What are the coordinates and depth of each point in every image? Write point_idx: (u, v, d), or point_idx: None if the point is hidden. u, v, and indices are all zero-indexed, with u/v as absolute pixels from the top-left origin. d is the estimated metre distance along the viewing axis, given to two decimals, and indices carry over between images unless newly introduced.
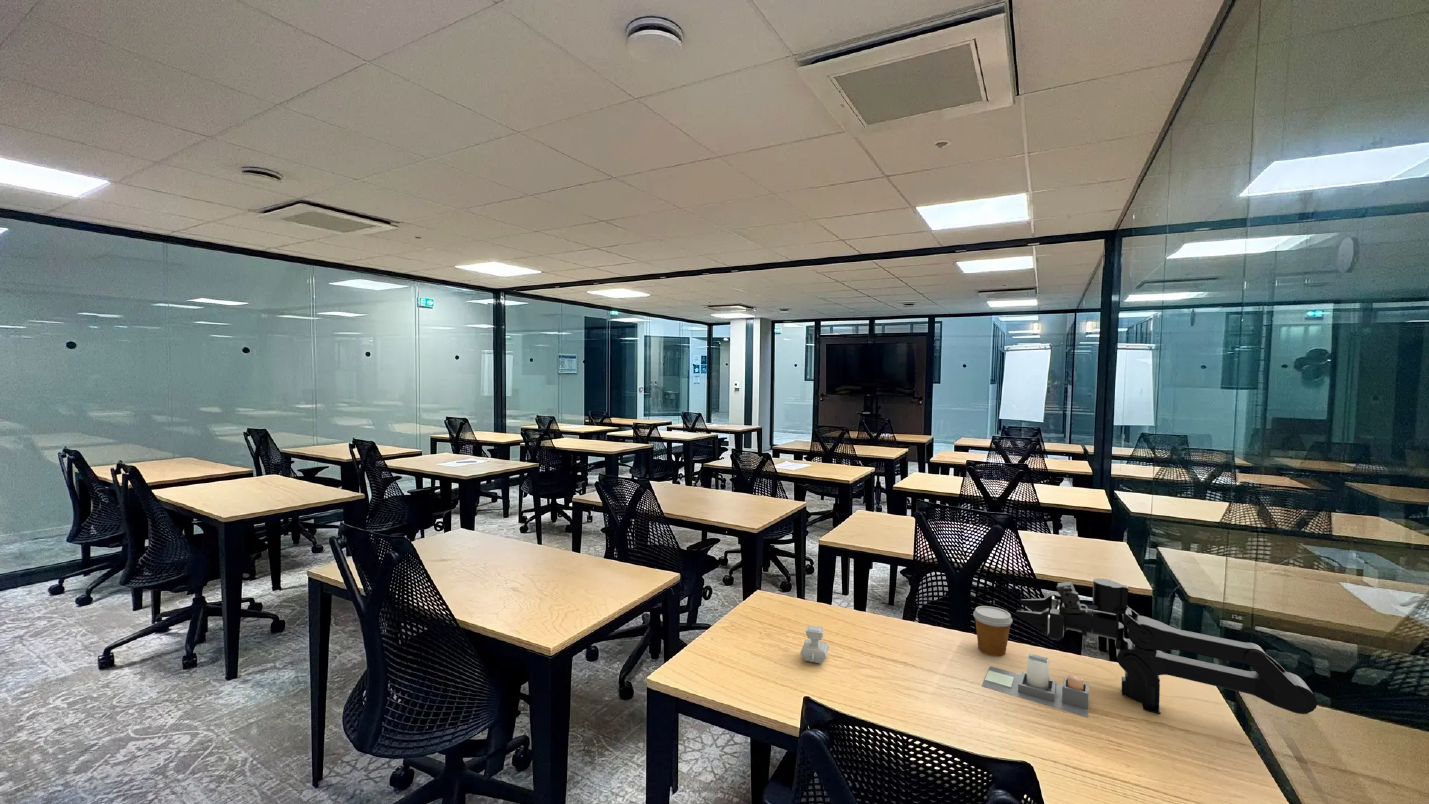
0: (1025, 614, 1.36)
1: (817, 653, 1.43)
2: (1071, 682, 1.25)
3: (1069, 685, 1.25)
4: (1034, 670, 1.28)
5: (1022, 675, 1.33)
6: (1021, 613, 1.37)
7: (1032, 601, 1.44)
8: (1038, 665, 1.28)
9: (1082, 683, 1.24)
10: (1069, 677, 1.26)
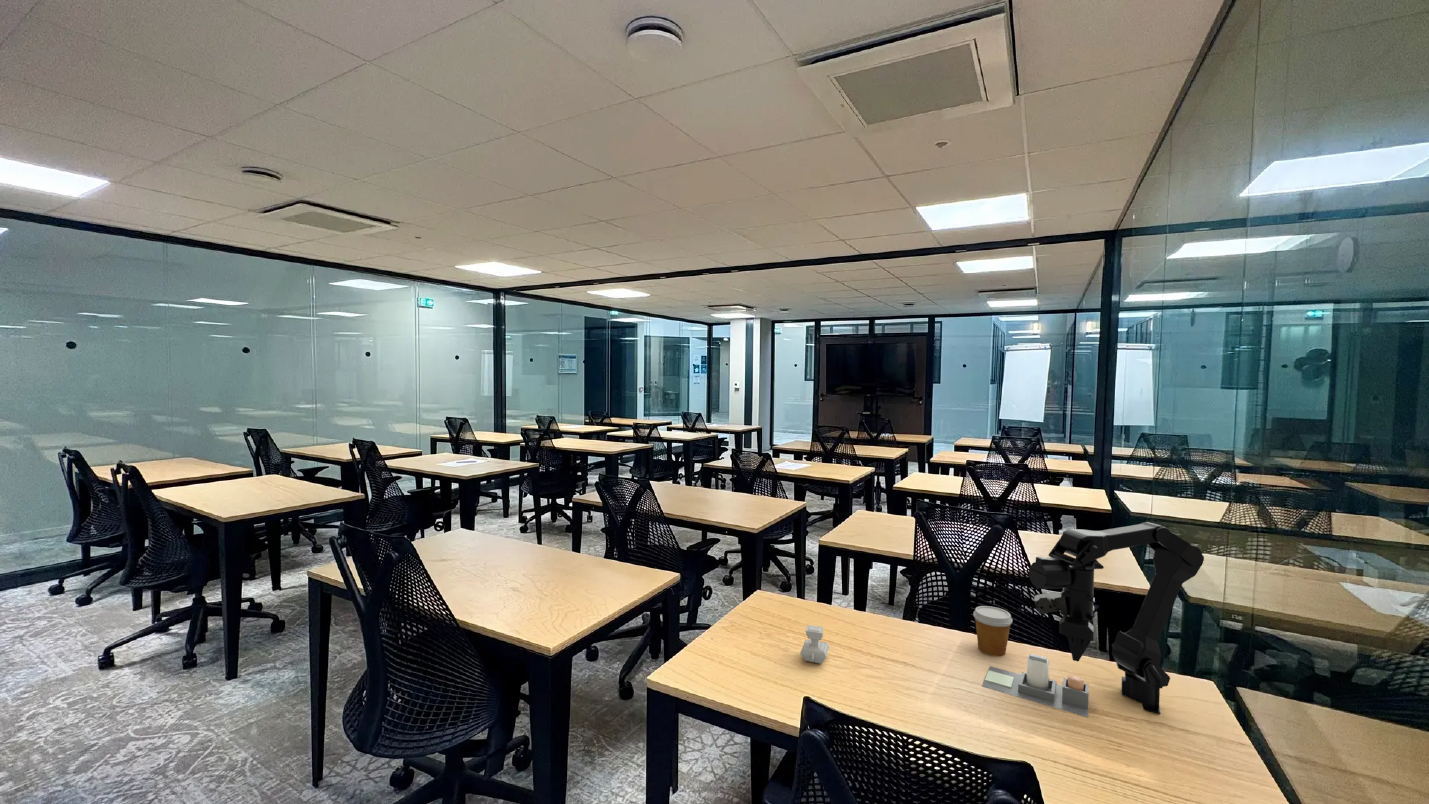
0: (1074, 652, 1.22)
1: (817, 653, 1.43)
2: (1071, 682, 1.25)
3: (1069, 685, 1.25)
4: (1034, 670, 1.28)
5: (1022, 675, 1.33)
6: (1074, 656, 1.22)
7: None
8: (1038, 665, 1.28)
9: (1082, 683, 1.24)
10: (1069, 677, 1.26)
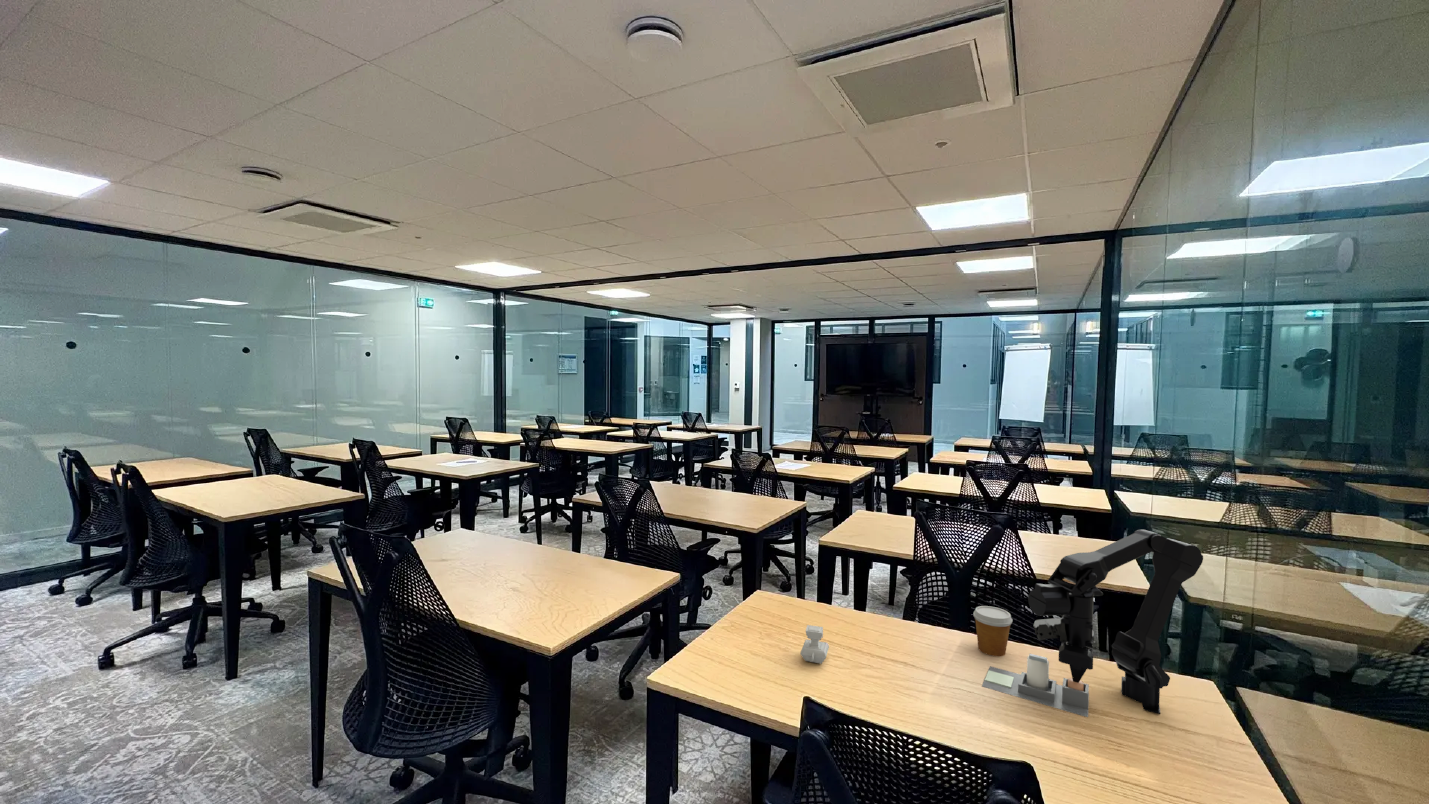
0: (1075, 674, 1.25)
1: (817, 653, 1.43)
2: (1071, 684, 1.25)
3: (1069, 687, 1.25)
4: (1034, 670, 1.28)
5: (1022, 675, 1.33)
6: (1074, 677, 1.25)
7: None
8: (1038, 665, 1.28)
9: (1082, 685, 1.24)
10: (1069, 679, 1.26)
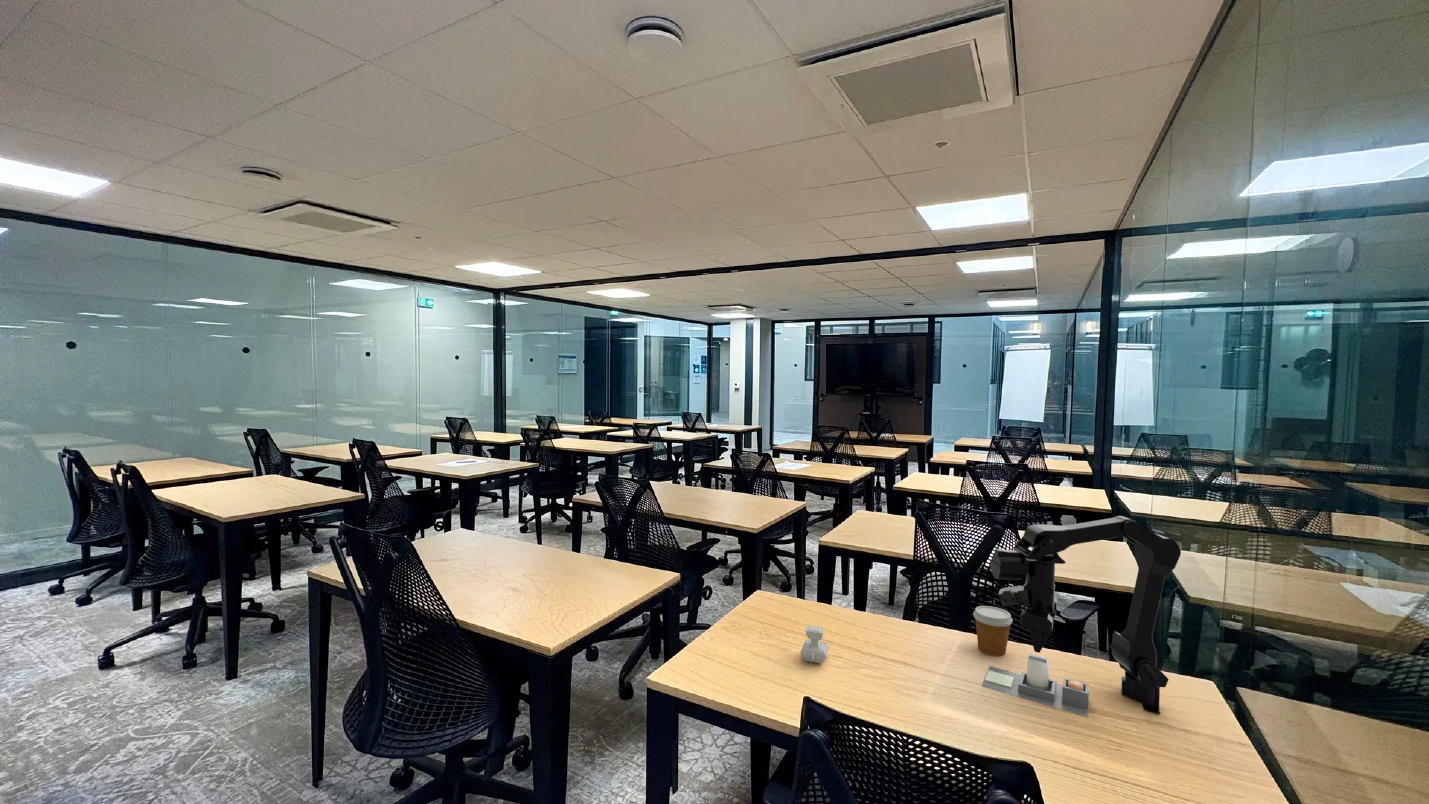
0: (1036, 644, 1.26)
1: (817, 653, 1.43)
2: (1071, 687, 1.25)
3: None
4: (1034, 670, 1.28)
5: (1022, 675, 1.33)
6: (1035, 647, 1.26)
7: None
8: (1038, 665, 1.28)
9: (1082, 688, 1.24)
10: (1069, 682, 1.26)
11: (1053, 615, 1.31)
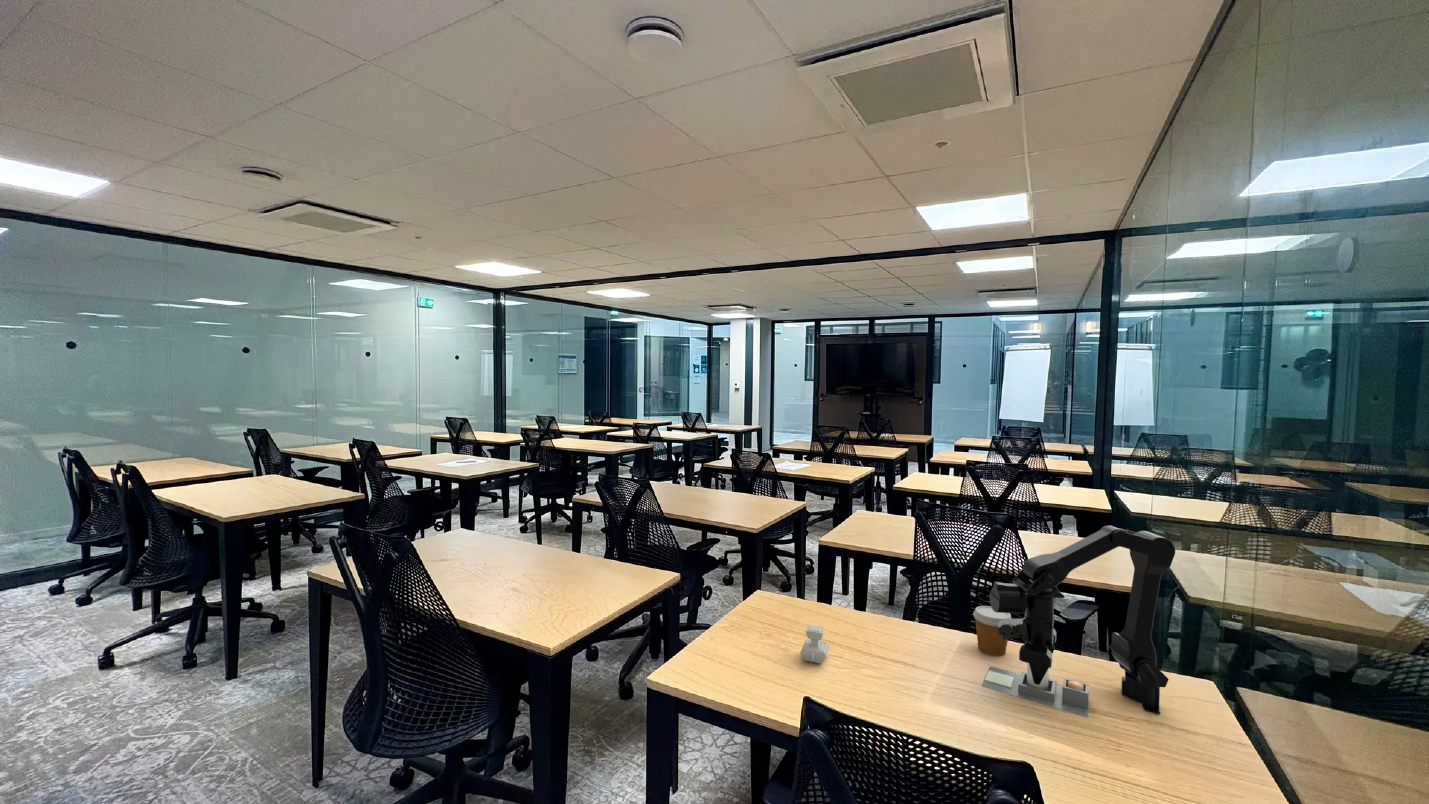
0: (1035, 676, 1.27)
1: (817, 653, 1.43)
2: (1071, 687, 1.25)
3: None
4: None
5: (1022, 675, 1.33)
6: (1035, 679, 1.27)
7: None
8: None
9: (1082, 688, 1.24)
10: (1069, 682, 1.26)
11: (1052, 650, 1.30)
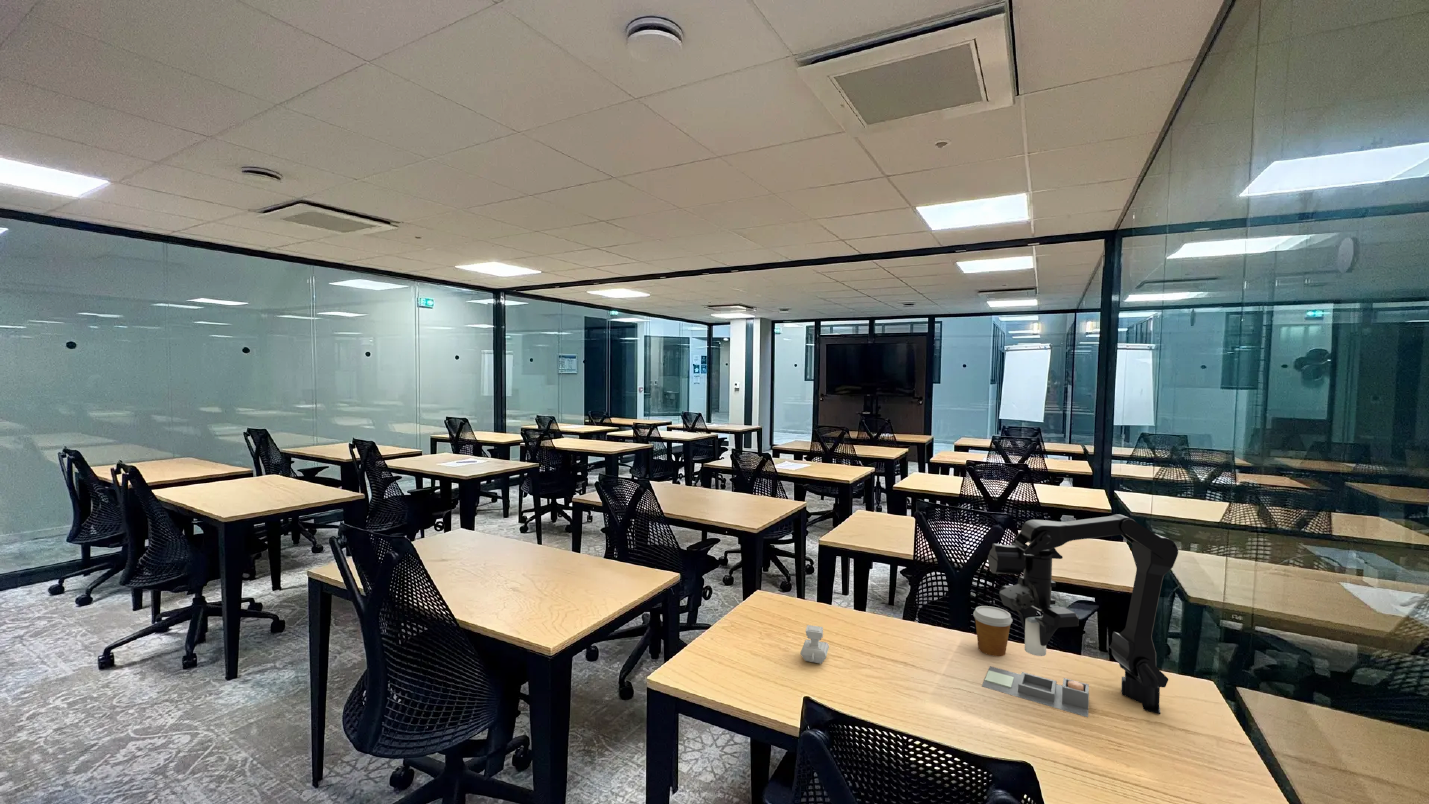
0: (1044, 638, 1.27)
1: (817, 653, 1.43)
2: (1071, 687, 1.25)
3: None
4: None
5: (1022, 675, 1.33)
6: (1044, 641, 1.27)
7: None
8: None
9: (1082, 688, 1.24)
10: (1069, 682, 1.26)
11: None
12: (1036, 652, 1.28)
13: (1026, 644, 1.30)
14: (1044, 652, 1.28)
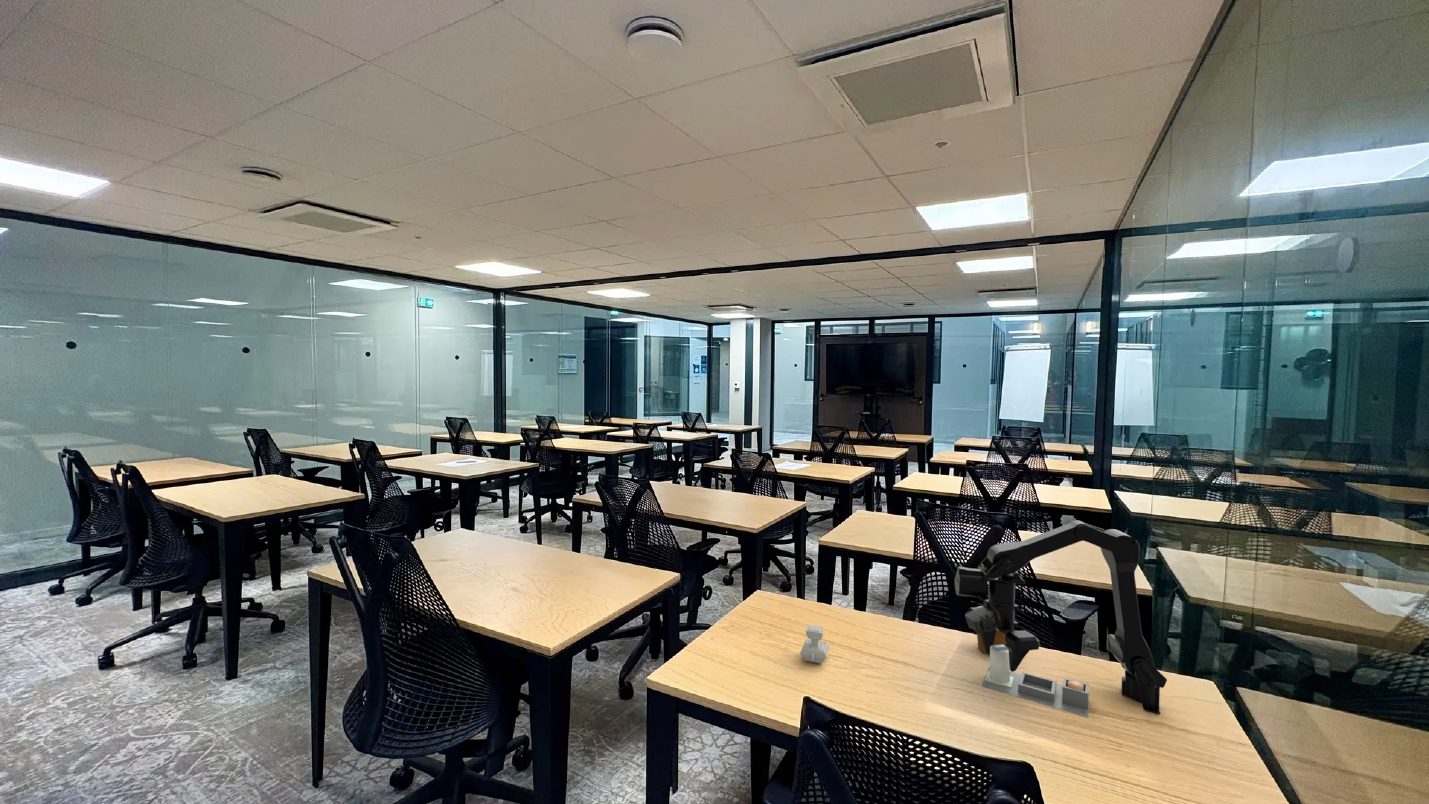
0: (1013, 664, 1.29)
1: (817, 653, 1.43)
2: (1071, 687, 1.25)
3: None
4: (1004, 660, 1.32)
5: (1022, 675, 1.33)
6: (1013, 667, 1.29)
7: (986, 643, 1.38)
8: (1007, 654, 1.32)
9: (1082, 688, 1.24)
10: (1069, 682, 1.26)
11: None
12: (1000, 679, 1.32)
13: (990, 671, 1.34)
14: (1007, 679, 1.32)
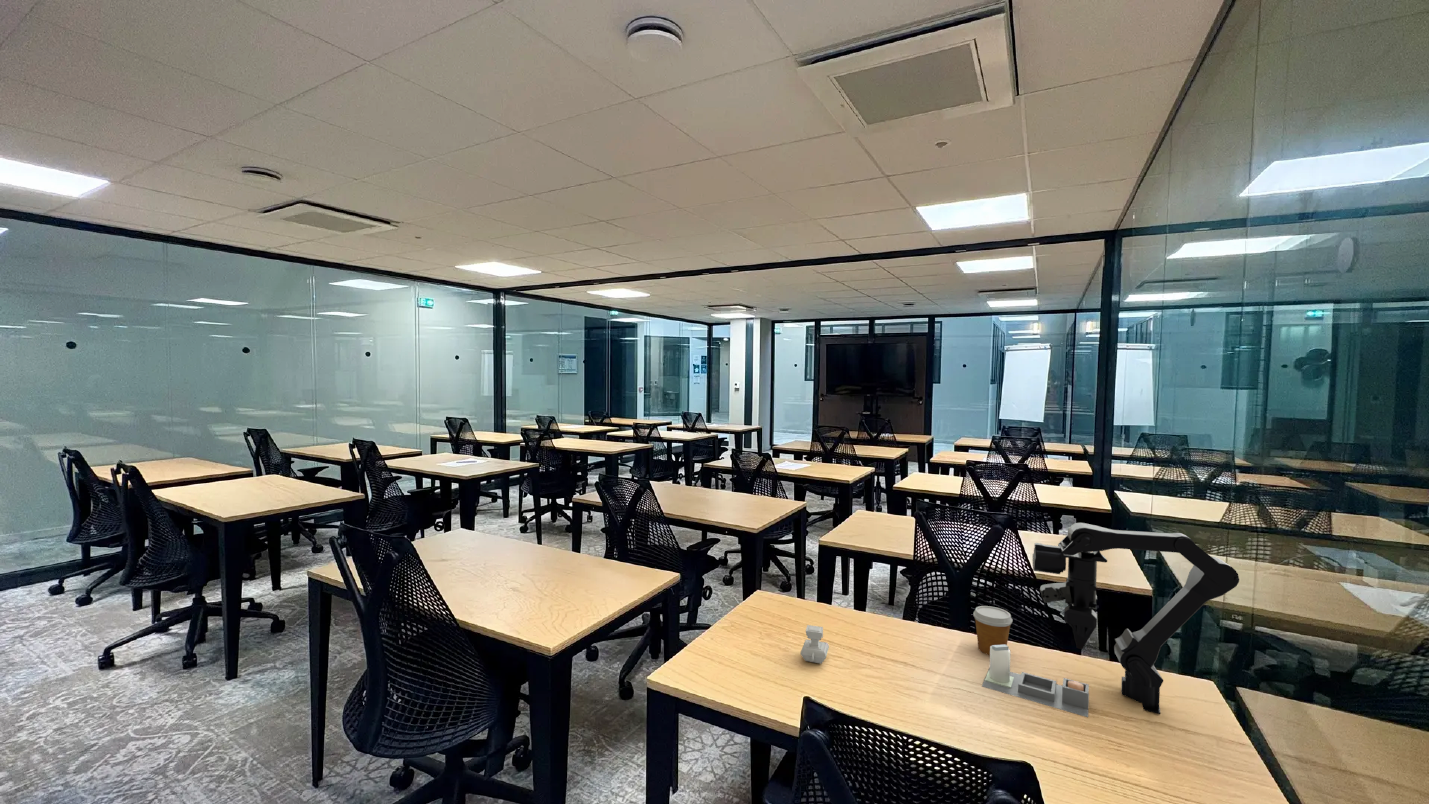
0: (1078, 641, 1.28)
1: (817, 653, 1.43)
2: (1071, 687, 1.25)
3: None
4: (1004, 660, 1.32)
5: (1022, 675, 1.33)
6: (1078, 644, 1.28)
7: None
8: (1007, 654, 1.32)
9: (1082, 688, 1.24)
10: (1069, 682, 1.26)
11: (1094, 610, 1.35)
12: (1000, 679, 1.32)
13: (990, 671, 1.34)
14: (1007, 679, 1.32)
